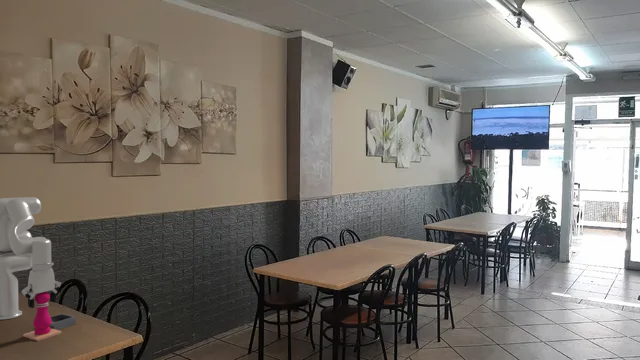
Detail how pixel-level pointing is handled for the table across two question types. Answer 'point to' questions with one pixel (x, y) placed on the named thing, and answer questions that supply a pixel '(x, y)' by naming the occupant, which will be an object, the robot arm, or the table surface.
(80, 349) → the table surface
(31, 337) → the plate
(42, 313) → the pepper mill
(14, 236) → the robot arm
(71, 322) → the holder sleeve
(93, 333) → the table surface
